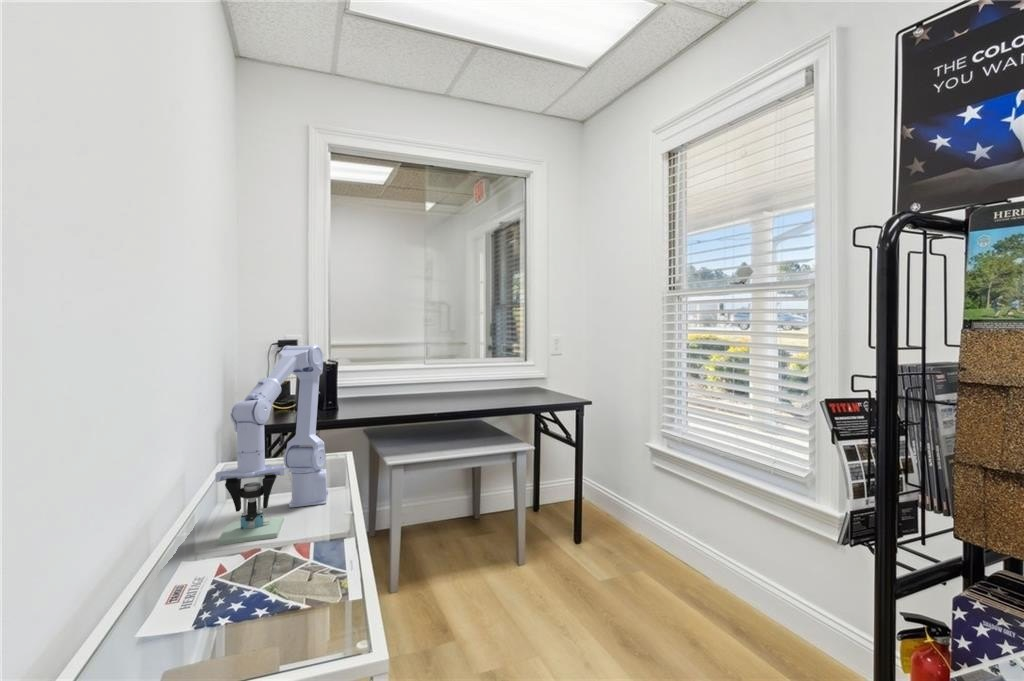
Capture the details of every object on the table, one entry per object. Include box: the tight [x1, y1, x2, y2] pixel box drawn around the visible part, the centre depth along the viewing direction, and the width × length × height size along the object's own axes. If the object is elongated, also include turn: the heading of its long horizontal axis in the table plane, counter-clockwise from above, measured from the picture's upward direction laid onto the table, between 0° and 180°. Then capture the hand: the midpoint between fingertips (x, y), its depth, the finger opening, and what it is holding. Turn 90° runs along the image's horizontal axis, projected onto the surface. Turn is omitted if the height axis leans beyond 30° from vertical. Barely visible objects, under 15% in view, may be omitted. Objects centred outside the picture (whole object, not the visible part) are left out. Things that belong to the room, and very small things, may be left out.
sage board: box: [216, 516, 285, 546], centre depth 116 cm, size 12×12×1 cm
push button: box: [239, 481, 272, 529], centre depth 117 cm, size 7×5×10 cm
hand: (252, 508), depth 116 cm, fingers closed on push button, 5 cm apart
